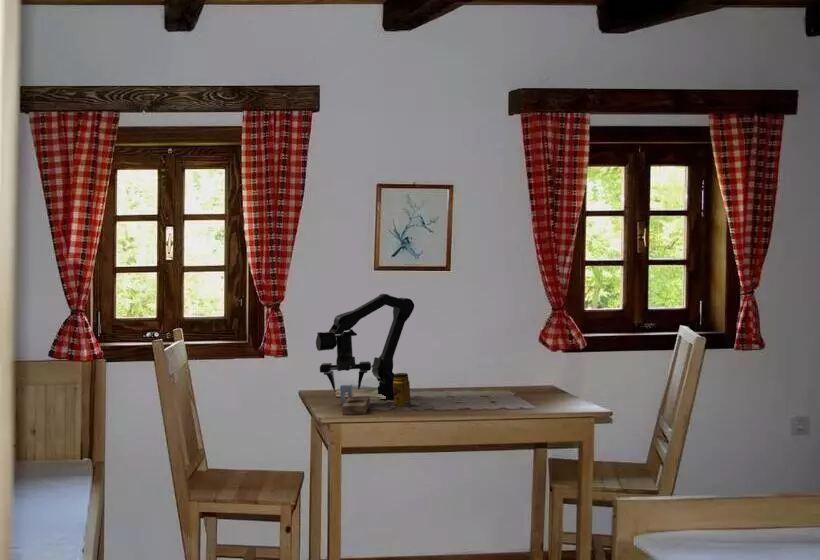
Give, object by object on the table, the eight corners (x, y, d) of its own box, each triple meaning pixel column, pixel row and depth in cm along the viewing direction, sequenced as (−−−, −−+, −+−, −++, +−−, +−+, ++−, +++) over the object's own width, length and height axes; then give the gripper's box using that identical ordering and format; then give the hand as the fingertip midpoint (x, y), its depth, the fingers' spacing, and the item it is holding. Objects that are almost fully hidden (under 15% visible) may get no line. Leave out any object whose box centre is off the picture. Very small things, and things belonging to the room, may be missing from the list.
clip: (352, 402, 394) (352, 384, 394) (351, 403, 390) (350, 386, 390) (342, 402, 394) (341, 385, 394) (341, 404, 391) (340, 386, 390)
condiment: (388, 407, 380) (387, 374, 379) (404, 403, 386) (402, 371, 385) (404, 408, 375) (402, 375, 374) (419, 405, 381) (417, 372, 381)
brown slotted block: (370, 404, 388) (369, 396, 388) (365, 413, 368) (364, 405, 368) (348, 404, 388) (348, 396, 388) (342, 414, 368) (342, 406, 368)
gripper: (316, 352, 384) (319, 394, 385) (367, 350, 383) (369, 392, 384) (320, 348, 395) (322, 389, 396) (370, 346, 394) (372, 387, 395)
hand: (346, 389), depth 392 cm, fingers open, 9 cm apart
